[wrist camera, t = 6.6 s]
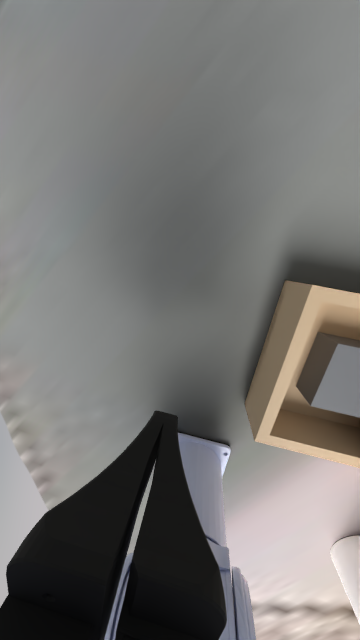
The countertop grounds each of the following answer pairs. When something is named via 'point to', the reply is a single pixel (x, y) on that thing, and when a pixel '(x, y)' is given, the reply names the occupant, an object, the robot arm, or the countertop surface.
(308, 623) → the countertop surface
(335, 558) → the cylindrical container
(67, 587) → the robot arm
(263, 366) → the mailer box
